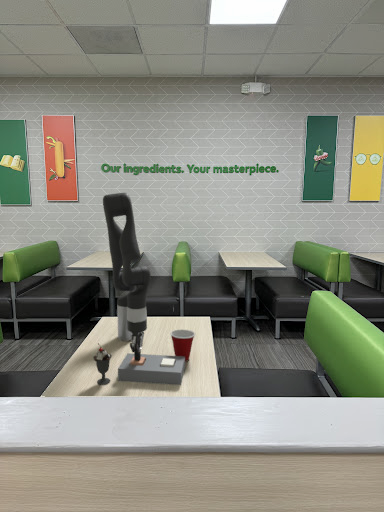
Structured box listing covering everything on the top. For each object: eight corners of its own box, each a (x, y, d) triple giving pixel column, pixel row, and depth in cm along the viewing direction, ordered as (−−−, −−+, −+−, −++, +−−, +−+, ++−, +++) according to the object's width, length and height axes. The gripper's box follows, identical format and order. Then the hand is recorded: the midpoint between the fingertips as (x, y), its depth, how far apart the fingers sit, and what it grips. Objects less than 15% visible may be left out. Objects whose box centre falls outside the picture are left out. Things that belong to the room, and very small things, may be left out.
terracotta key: (133, 365, 136) (133, 356, 135) (145, 366, 135) (145, 357, 135) (130, 371, 131) (130, 362, 130) (142, 372, 131) (142, 362, 130)
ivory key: (163, 367, 135) (163, 358, 134) (174, 368, 134) (174, 358, 134) (160, 373, 130) (160, 364, 129) (173, 374, 130) (173, 364, 129)
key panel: (127, 364, 140) (127, 353, 140) (185, 367, 138) (185, 356, 137) (118, 381, 128) (117, 368, 127) (180, 385, 125) (181, 372, 125)
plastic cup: (198, 355, 150) (198, 329, 148) (190, 366, 139) (190, 339, 137) (175, 351, 153) (175, 326, 151) (166, 362, 143) (166, 335, 141)
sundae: (96, 377, 130) (94, 340, 128) (113, 376, 131) (112, 340, 128) (92, 386, 124) (91, 348, 121) (111, 386, 124) (110, 348, 122)
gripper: (132, 311, 136) (132, 351, 139) (122, 323, 123) (123, 367, 126) (150, 312, 136) (150, 352, 139) (142, 324, 123) (142, 368, 126)
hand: (137, 359), depth 132 cm, fingers closed
